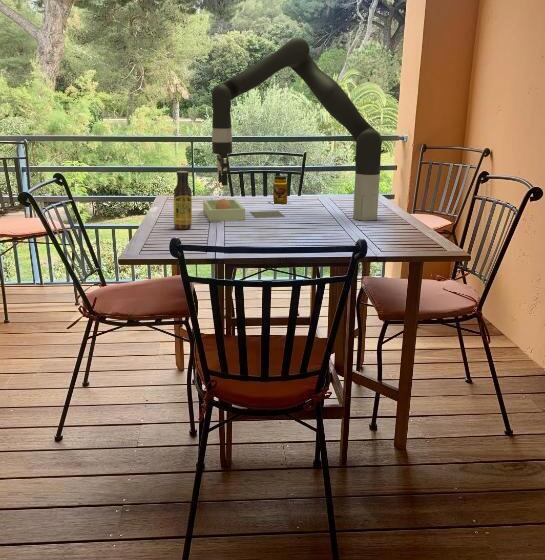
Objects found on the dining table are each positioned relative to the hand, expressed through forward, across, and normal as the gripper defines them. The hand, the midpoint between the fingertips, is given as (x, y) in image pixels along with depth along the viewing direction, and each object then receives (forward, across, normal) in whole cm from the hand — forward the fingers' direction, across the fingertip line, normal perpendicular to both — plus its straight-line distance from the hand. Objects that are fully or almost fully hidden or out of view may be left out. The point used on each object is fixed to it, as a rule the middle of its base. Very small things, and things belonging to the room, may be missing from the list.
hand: (223, 183), depth 222 cm
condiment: (+13, +23, -28) cm, 38 cm away
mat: (+12, -2, -17) cm, 21 cm away
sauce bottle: (+13, -19, +17) cm, 29 cm away
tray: (+12, 0, 0) cm, 13 cm away
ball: (+12, 0, 0) cm, 12 cm away
